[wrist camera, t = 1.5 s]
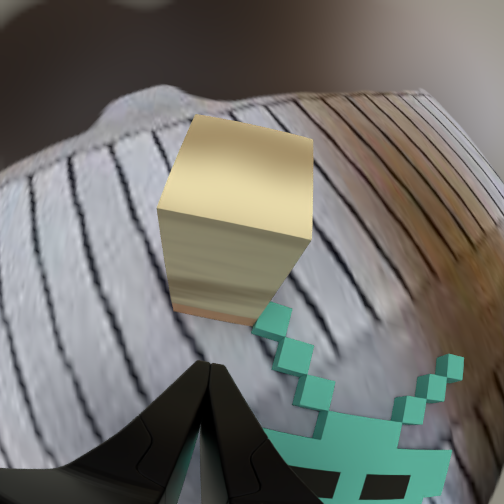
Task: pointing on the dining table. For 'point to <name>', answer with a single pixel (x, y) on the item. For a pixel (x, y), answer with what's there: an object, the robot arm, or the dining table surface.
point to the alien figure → (356, 431)
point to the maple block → (234, 217)
